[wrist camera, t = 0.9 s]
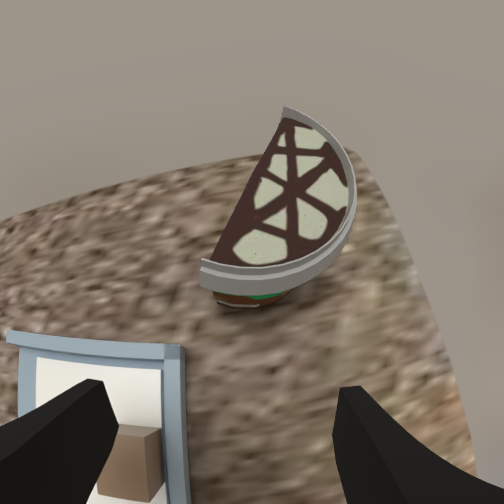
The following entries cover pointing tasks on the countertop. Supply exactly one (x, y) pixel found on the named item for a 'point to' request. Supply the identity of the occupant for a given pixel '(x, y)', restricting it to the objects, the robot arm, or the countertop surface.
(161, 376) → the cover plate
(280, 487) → the countertop surface
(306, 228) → the food container
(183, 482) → the open box
